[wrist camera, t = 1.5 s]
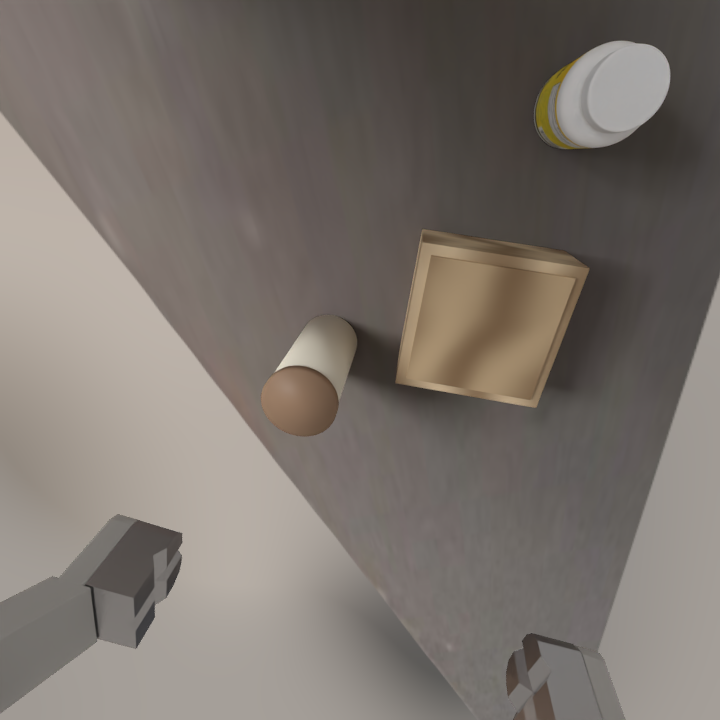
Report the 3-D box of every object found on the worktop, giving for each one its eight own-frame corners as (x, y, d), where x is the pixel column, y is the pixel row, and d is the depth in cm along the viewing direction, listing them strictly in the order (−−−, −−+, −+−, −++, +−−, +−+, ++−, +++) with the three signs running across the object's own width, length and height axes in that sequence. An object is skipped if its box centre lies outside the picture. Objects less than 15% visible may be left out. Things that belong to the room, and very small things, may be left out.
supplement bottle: (615, 55, 29) (698, 15, 20) (606, 143, 31) (677, 140, 23) (532, 71, 30) (578, 38, 21) (530, 154, 32) (570, 155, 24)
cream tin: (299, 361, 43) (260, 428, 33) (303, 309, 40) (261, 364, 30) (354, 371, 43) (332, 442, 32) (361, 319, 40) (340, 378, 30)
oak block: (398, 353, 41) (395, 384, 36) (422, 228, 36) (422, 243, 30) (521, 374, 40) (536, 409, 35) (564, 250, 35) (591, 269, 29)
